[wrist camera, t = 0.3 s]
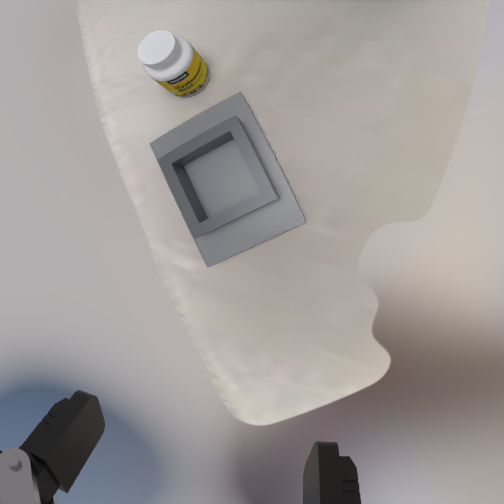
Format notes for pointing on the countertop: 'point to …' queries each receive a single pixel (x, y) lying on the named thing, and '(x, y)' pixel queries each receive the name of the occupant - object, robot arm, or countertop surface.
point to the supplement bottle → (173, 63)
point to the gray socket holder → (226, 180)
